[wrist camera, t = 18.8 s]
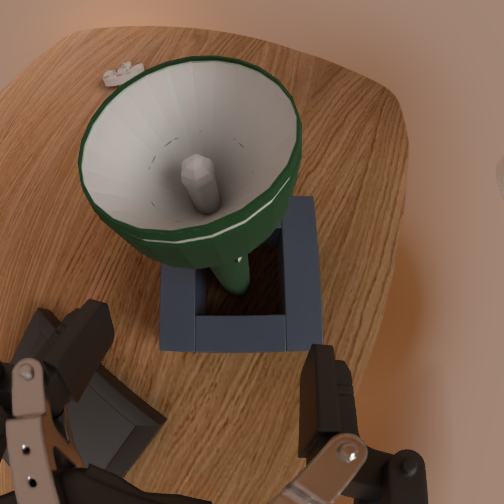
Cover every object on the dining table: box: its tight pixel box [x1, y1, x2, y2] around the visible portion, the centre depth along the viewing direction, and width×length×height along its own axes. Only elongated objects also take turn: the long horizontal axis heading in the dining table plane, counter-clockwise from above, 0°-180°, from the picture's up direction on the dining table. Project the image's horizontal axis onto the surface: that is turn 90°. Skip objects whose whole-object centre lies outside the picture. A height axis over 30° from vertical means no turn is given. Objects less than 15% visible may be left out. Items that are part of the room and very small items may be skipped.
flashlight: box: [78, 56, 302, 296], centre depth 15 cm, size 5×5×20 cm
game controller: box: [103, 61, 144, 87], centre depth 30 cm, size 6×12×3 cm, turn 20°
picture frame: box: [2, 308, 167, 479], centre depth 19 cm, size 16×3×21 cm
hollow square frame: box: [160, 196, 323, 353], centre depth 22 cm, size 11×11×5 cm
